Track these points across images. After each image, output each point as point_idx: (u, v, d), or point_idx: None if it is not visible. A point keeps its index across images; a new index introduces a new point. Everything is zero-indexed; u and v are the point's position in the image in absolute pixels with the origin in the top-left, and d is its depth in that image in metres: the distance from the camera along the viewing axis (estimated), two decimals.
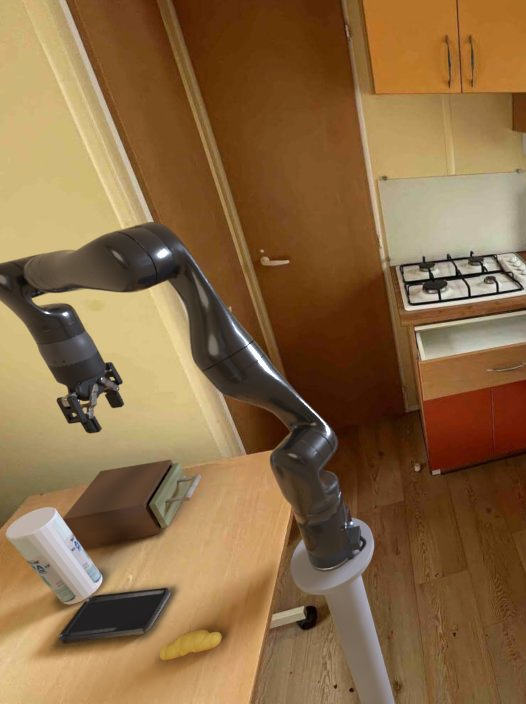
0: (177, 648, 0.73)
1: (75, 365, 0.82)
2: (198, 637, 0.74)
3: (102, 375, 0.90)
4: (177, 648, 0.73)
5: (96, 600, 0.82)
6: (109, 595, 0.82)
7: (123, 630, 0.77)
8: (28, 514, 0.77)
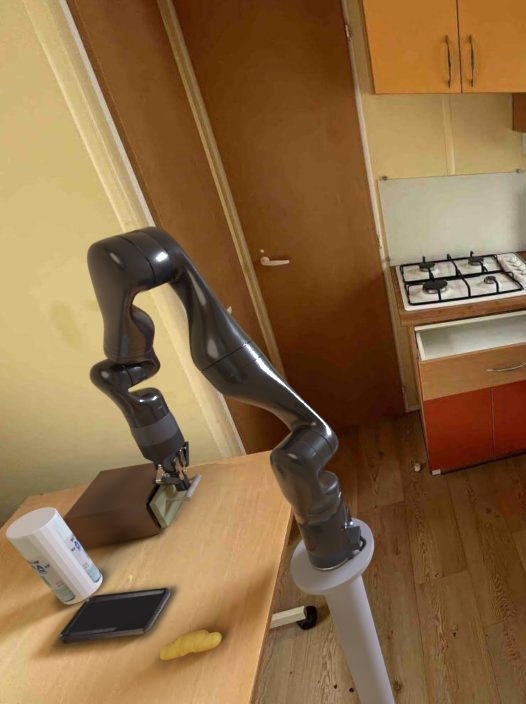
0: (177, 648, 0.73)
1: (162, 443, 0.90)
2: (198, 637, 0.74)
3: None
4: (177, 648, 0.73)
5: (96, 600, 0.82)
6: (109, 595, 0.82)
7: (123, 630, 0.77)
8: (28, 514, 0.77)
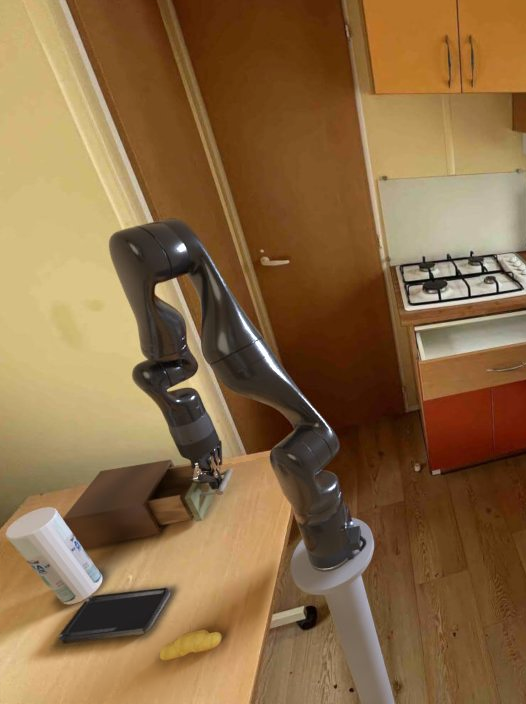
0: (177, 648, 0.73)
1: (199, 442, 0.92)
2: (198, 637, 0.74)
3: None
4: (177, 648, 0.73)
5: (96, 600, 0.82)
6: (109, 595, 0.82)
7: (123, 630, 0.77)
8: (28, 514, 0.77)
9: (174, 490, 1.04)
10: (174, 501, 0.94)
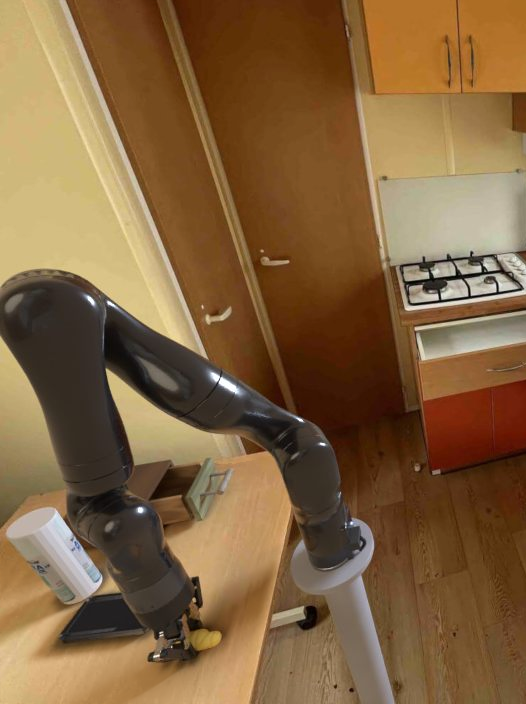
0: None
1: (164, 607, 0.66)
2: (198, 636, 0.74)
3: None
4: None
5: (96, 601, 0.82)
6: (109, 595, 0.82)
7: (123, 630, 0.77)
8: (28, 514, 0.77)
9: (174, 490, 1.04)
10: (175, 501, 0.94)
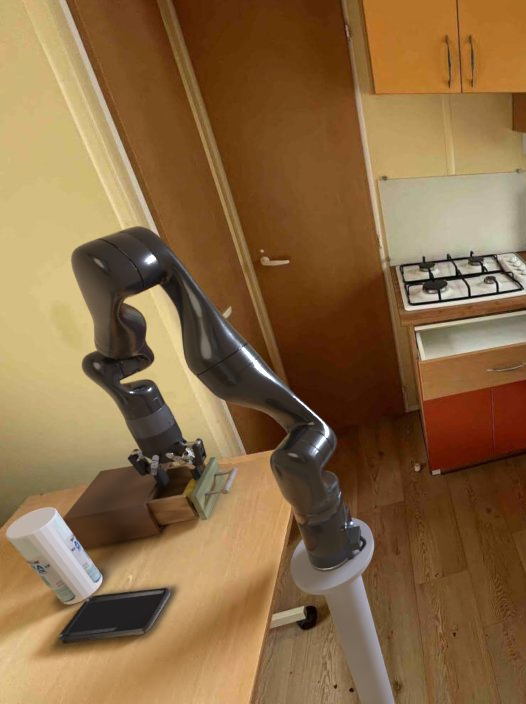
0: None
1: (133, 436, 0.89)
2: None
3: (178, 451, 0.94)
4: None
5: (96, 601, 0.82)
6: (109, 595, 0.82)
7: (123, 630, 0.77)
8: (28, 514, 0.77)
9: (179, 489, 1.04)
10: (179, 500, 0.95)
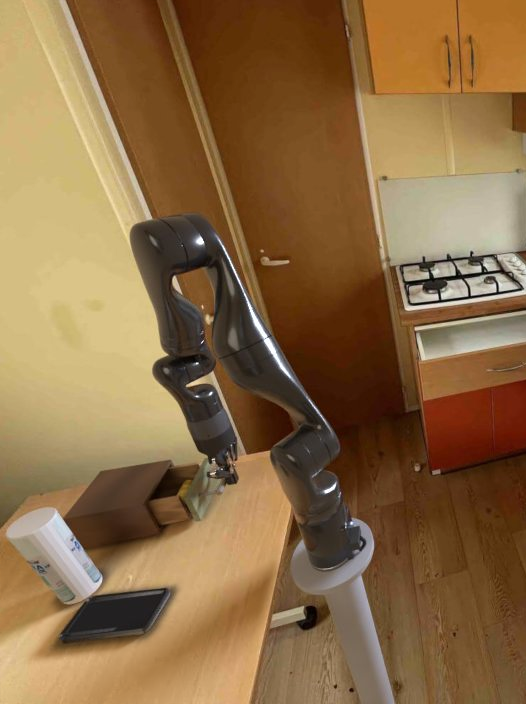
0: (180, 488, 1.01)
1: (216, 438, 0.93)
2: None
3: None
4: None
5: (96, 601, 0.82)
6: (109, 595, 0.82)
7: (123, 630, 0.77)
8: (28, 514, 0.77)
9: (173, 490, 1.04)
10: (173, 501, 0.94)
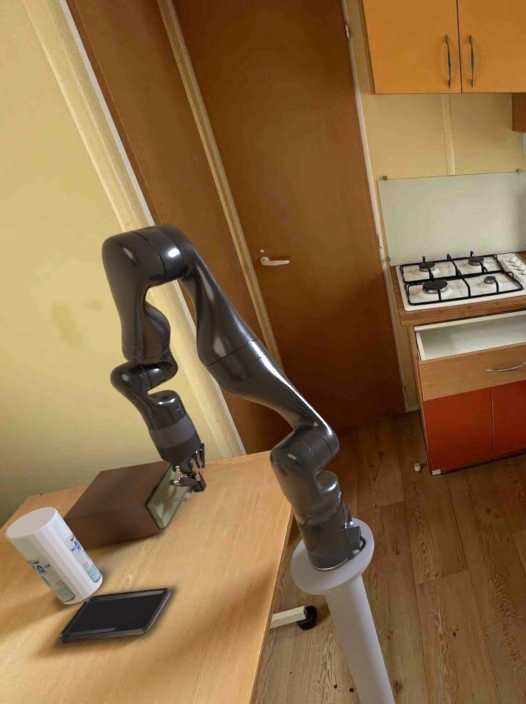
0: None
1: (179, 445, 0.91)
2: None
3: None
4: None
5: (96, 601, 0.82)
6: (109, 595, 0.82)
7: (123, 630, 0.77)
8: (28, 514, 0.77)
9: None
10: None
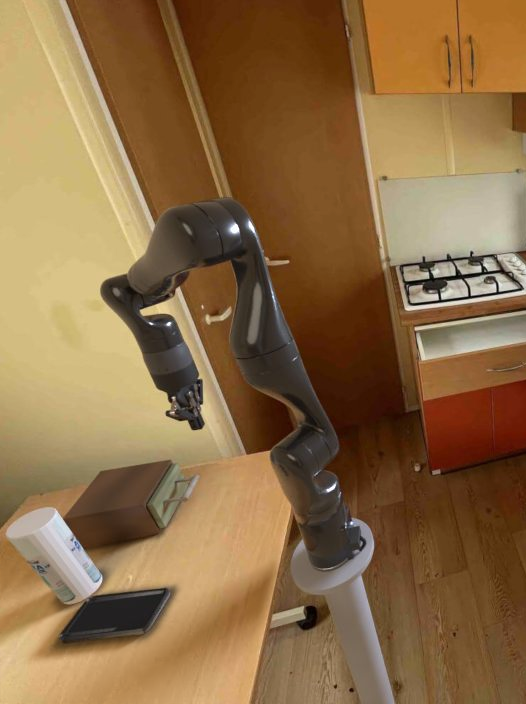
0: None
1: (176, 373, 0.85)
2: None
3: None
4: None
5: (96, 601, 0.82)
6: (109, 595, 0.82)
7: (123, 630, 0.77)
8: (28, 514, 0.77)
9: None
10: None
